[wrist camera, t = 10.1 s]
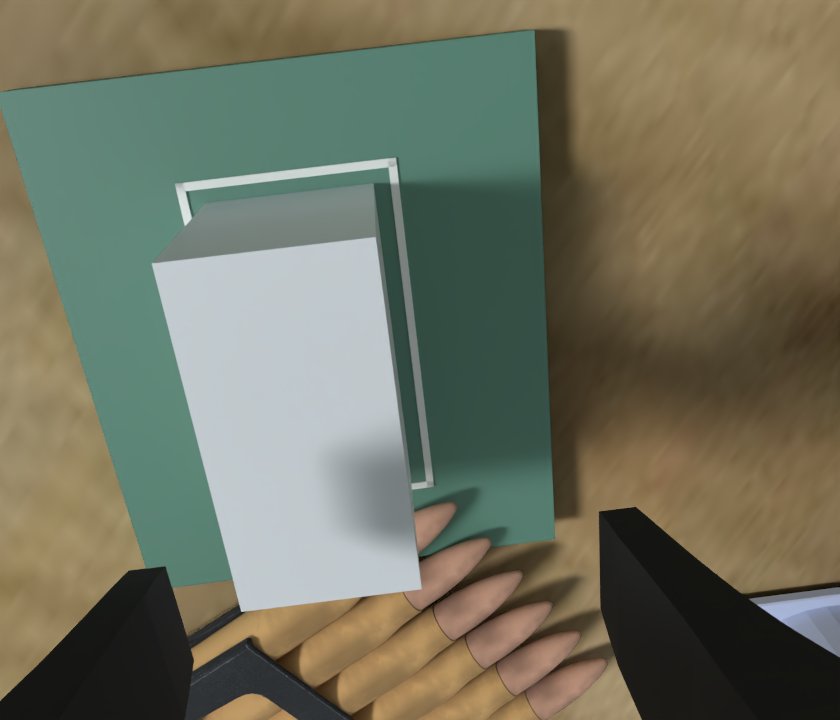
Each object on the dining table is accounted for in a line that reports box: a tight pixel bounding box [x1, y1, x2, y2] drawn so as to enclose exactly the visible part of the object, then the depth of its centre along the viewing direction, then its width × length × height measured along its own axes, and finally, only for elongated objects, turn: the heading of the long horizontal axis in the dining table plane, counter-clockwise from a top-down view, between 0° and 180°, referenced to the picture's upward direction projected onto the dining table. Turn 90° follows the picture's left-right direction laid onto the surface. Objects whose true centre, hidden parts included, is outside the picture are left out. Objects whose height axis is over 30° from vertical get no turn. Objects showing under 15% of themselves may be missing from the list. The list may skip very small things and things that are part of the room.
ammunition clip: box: [185, 502, 608, 720], centre depth 24 cm, size 11×2×12 cm
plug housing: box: [152, 183, 422, 612], centre depth 17 cm, size 4×8×5 cm, turn 6°
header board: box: [0, 30, 555, 588], centre depth 19 cm, size 12×14×4 cm
